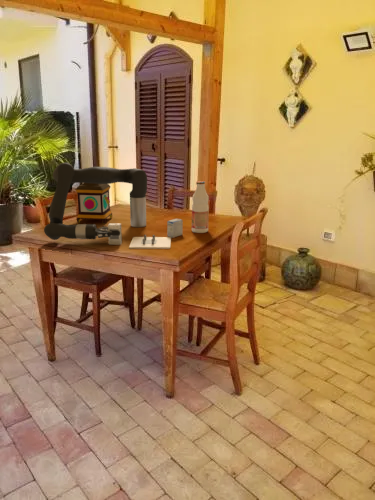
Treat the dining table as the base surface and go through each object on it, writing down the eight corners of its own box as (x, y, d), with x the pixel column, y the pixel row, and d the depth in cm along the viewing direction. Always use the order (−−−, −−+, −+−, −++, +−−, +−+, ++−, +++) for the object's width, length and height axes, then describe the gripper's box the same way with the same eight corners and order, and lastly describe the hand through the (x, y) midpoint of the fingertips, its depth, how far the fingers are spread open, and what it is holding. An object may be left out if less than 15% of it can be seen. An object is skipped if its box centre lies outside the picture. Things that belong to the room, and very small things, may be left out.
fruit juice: (200, 234, 226) (201, 183, 218) (188, 231, 232) (188, 181, 224) (211, 231, 233) (212, 181, 225) (199, 228, 239) (199, 180, 231)
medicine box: (176, 233, 227) (176, 218, 225) (182, 235, 225) (182, 219, 222) (167, 236, 221) (166, 220, 219) (173, 237, 219) (173, 222, 216)
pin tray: (133, 238, 217) (133, 232, 216) (171, 238, 217) (171, 232, 216) (129, 248, 200) (128, 241, 199) (170, 248, 200) (170, 242, 199)
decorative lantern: (85, 216, 265) (82, 169, 256) (115, 217, 263) (113, 170, 254) (74, 224, 246) (70, 173, 237) (106, 225, 244) (103, 174, 235)
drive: (110, 242, 209) (109, 223, 206) (121, 242, 209) (121, 223, 206) (108, 244, 205) (107, 225, 202) (120, 244, 205) (119, 225, 202)
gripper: (82, 228, 197) (118, 228, 197) (88, 221, 211) (122, 221, 211) (83, 243, 199) (118, 243, 200) (89, 235, 213) (122, 235, 213)
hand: (120, 232), depth 205 cm, fingers closed on drive, 4 cm apart
